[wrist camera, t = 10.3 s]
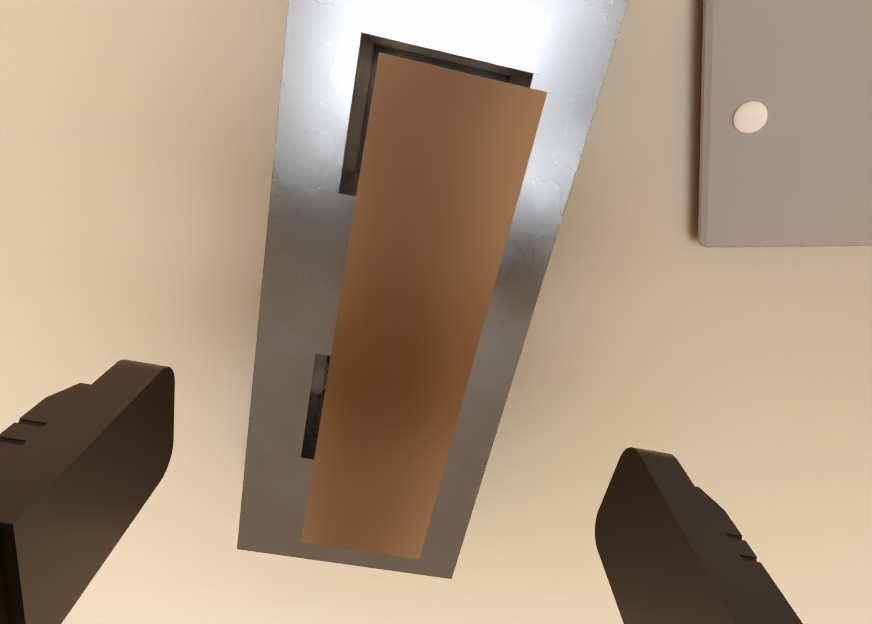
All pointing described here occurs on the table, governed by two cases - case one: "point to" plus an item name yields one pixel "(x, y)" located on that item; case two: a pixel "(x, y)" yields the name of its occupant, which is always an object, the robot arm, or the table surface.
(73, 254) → the table surface
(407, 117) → the brown u-shaped block
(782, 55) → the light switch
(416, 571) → the grey slotted holder
